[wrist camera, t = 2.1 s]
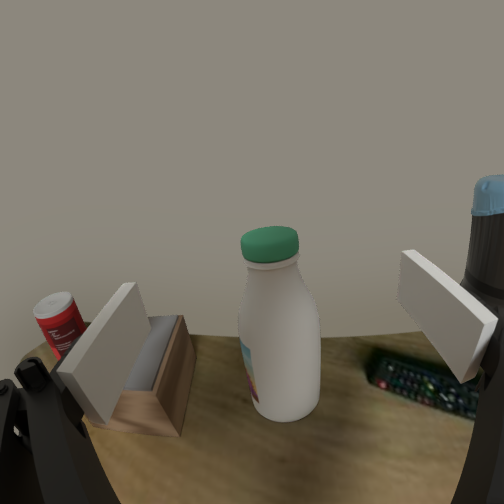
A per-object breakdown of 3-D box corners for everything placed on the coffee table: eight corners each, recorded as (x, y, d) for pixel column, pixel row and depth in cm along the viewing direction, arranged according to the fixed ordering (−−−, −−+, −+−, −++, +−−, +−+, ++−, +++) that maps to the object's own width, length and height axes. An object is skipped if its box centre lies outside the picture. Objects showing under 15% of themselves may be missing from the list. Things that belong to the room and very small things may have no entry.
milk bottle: (328, 383, 31) (328, 220, 24) (303, 432, 25) (295, 255, 18) (271, 369, 35) (250, 218, 28) (241, 412, 29) (200, 247, 21)
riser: (196, 356, 39) (182, 311, 36) (180, 437, 26) (154, 392, 23) (125, 357, 39) (106, 316, 37) (93, 426, 26) (61, 383, 23)
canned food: (76, 341, 44) (53, 290, 40) (105, 347, 42) (81, 291, 38) (53, 365, 37) (24, 312, 33) (81, 375, 35) (50, 317, 31)
